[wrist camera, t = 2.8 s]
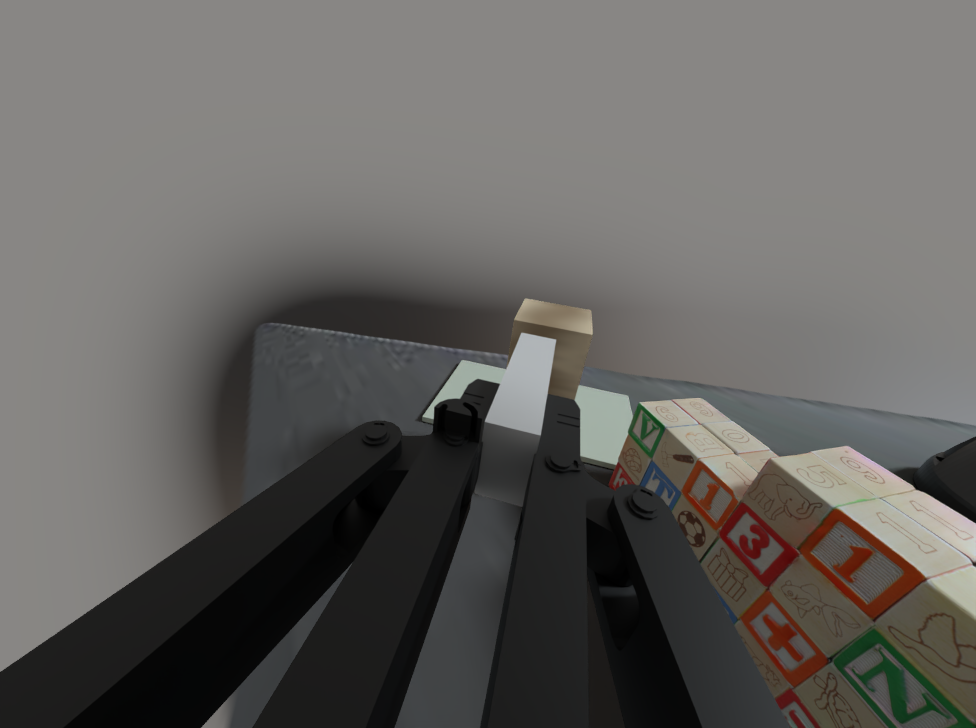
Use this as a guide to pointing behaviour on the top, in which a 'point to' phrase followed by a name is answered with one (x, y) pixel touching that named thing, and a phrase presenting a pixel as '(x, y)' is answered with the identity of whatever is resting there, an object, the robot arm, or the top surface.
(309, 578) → the robot arm
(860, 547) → the stack of blocks
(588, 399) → the sage cutting board
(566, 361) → the maple block
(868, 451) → the top surface
